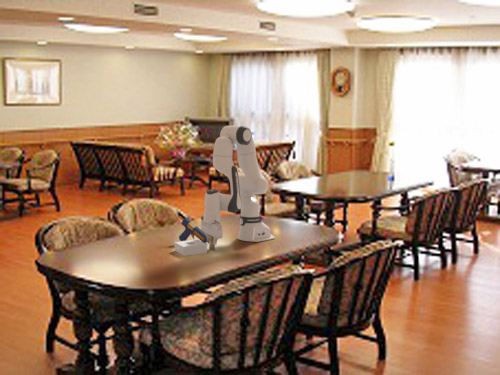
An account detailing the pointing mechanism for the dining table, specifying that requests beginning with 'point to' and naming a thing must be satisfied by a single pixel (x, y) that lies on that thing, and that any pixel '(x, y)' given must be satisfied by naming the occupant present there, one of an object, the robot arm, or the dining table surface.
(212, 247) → the peg
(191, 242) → the hole block
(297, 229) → the dining table surface
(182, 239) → the glue gun
